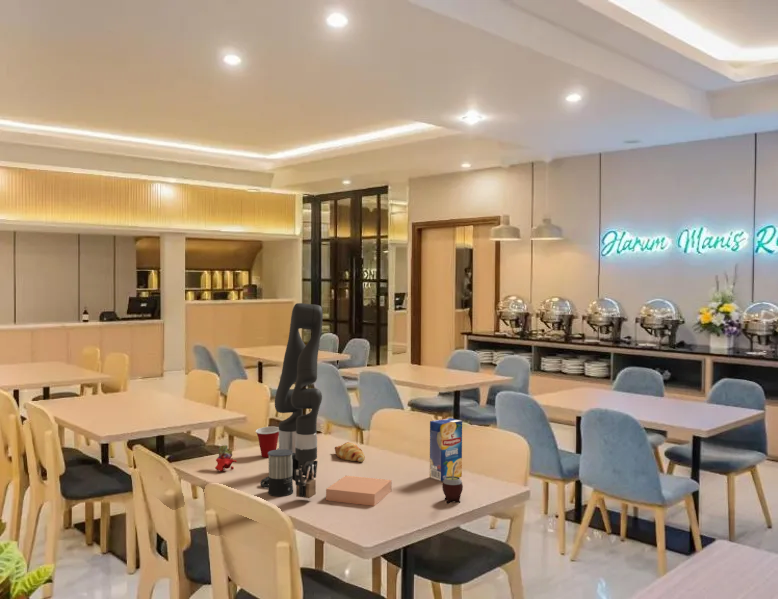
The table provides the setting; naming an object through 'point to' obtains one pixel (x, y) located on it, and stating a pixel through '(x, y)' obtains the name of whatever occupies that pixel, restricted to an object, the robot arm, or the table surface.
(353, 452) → the croissant
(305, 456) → the robot arm
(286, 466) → the milk frother
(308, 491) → the walnut cube
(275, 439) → the plastic cup
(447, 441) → the beverage box
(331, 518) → the table surface
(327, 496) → the terracotta base
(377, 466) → the table surface
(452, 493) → the mate gourd
